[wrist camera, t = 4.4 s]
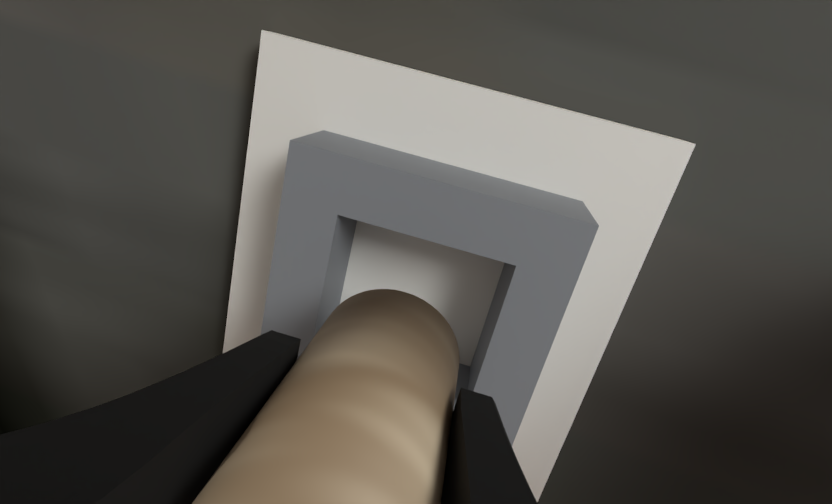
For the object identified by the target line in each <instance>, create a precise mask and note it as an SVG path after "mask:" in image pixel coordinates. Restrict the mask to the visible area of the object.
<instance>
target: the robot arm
mask: <svg viewBox="0 0 832 504" xmlns="http://www.w3.org/2000/svg"><path fill="white" fill-rule="evenodd" d="M300 341H301V339H299V338H296V337H293V336H289V335H286V334H283V333H279V332H276V331H273V330H271V331H269V332H266V333H264V334H262V335H260V336H258V337H256V338H254V339H252V340H250V341H248V342H246V343H243V344H241V345H239V346H237V347H235V348H233V349H231V350H229V351H227V352H225V353H223V354H221V355H219V356H217V357H215V358H212V359H210V360H208V361H206V362H204V363H202V364H200V365H197V366H195V367H193V368H191V369H189V370H187V371H184V372H182V373H180V374H177V375H175V376H172V377H170V378H168V379H165V380H163V381H160V382H158V383H156V384H153V385H151V386H148V387H146V388H143V389H141V390H139V391H136V392H134V393H131V394H129V395H126V396H124V397H121V398H118V399H116V400H113V401H110V402H107V403H104V404H102V405H99V406H96V407H93V408H90V409H87V410H84V411H81V412H77V413H74V414H71V415H68V416H65V417H62V418H59V419H56V420H52V421H49V422H46V423H42V424H39V425H35V426H31V427H28V428H24V429H20V430H16V431H12V432H9V433H5V434H1V435H0V504H192V503H193V501H194V500H195V499H196V497H197V496H198V495H199V493H200V492H201V490H202V489H203V488H204V486H205V485H206V484H207V482H208V481H209V480H210V478H211V477H212V475H213V474H214V473H215V471H216V470H217V469H218V467H219V466H220V465H221V463H222V462H223V460H224V459H225V458H226V456H227V455H228V454H229V452H230V451H231V450H232V448H233V447H234V445H235V444H236V443H237V441H238V440H239V439H240V437H241V436H242V435H243V433H244V432H245V430H246V429H247V428H248V426H249V425H250V424H251V422H252V421H253V420H254V418H255V417H256V415H257V414H258V413H259V411H260V410H261V409H262V407H263V406H264V405H265V403H266V402H267V400H268V399H269V398H270V396H271V395H272V394H273V392H274V391H275V389H276V388H277V387H278V385H279V384H280V383H281V381H282V380H283V379H284V377H285V376H286V374H287V373H288V372H289V370H290V369H291V368H292V366H293V365H294V364H295V362H296V361H297V357H298V352H299V347H300ZM441 504H538V503H537V501H536V499H535V497H534V495H533V493H532V491H531V489H530V486H529V484H528V482H527V480H526V478H525V476H524V473H523V471H522V469H521V467H520V465H519V462H518V460H517V458H516V455H515V453H514V451H513V448H512V446H511V443H510V441H509V438H508V436H507V433H506V431H505V428H504V425H503V423H502V420H501V417H500V415H499V412H498V409H497V406H496V403H495V402H494V400H493V398H492V397H491V396H487V395H484V394H481V393H477V392H474V391H471V390H467V389H464V388H461V389H460V392H459V395H458V398H457V401H456V404H455V407H454V410H453V414H452V421H451V429H450V436H449V444H448V452H447V460H446V468H445V475H444V483H443V491H442V498H441Z"/></svg>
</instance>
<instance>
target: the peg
mask: <svg viewBox="0 0 832 504" xmlns="http://www.w3.org/2000/svg"><path fill="white" fill-rule="evenodd" d="M459 359H460V357H459V348H458V343H457V340H456V337H455V334H454V332H453V330H452V328H451V327H450V325H449V323H448V322H447V321H446V319H445V318H444V317H443V316H442V315H441V314H440V312H439V311H438V310H436V309H435V308H434V307H433V306H432V305H430V304H429V303H427V302H426V301H424V300H423V299H421V298H419V297H417V296H415V295H412V294H409V293H406V292H403V291H398V290H392V289H374V290H368V291H364V292H361V293H358V294H356V295H353V296H351V297H349V298H348V299H346V300H345V301H343V302H342V303H341V304H340V305H338V306H337V307H336V308H335V310H334V311H333V312H332V313H331V314H330V316H329V317H328V319H327V320H326V321H325V323H324V324H323V325H322V327H321V328H320V329H319V331H318V332H317V334H316V335H315V336H314V338H313V339H312V340H311V342H310V343H309V344H308V346H307V347H306V349H305V350H304V351H303V353H302V354H301V355H300V357H299V358H298V359H297V361H296V362H295V364H294V365H293V366H292V368H291V369H290V370H289V372H288V373H287V374H286V376H285V377H284V379H283V380H282V381H281V383H280V384H279V385H278V387H277V388H276V389H275V391H274V392H273V394H272V395H271V396H270V398H269V399H268V400H267V402H266V403H265V405H264V406H263V407H262V409H261V410H260V411H259V413H258V414H257V415H256V417H255V418H254V420H253V421H252V422H251V424H250V425H249V426H248V428H247V429H246V430H245V432H244V433H243V435H242V436H241V437H240V439H239V440H238V441H237V443H236V444H235V445H234V447H233V448H232V450H231V451H230V452H229V454H228V455H227V456H226V458H225V459H224V460H223V462H222V463H221V465H220V466H219V467H218V469H217V470H216V471H215V473H214V474H213V475H212V477H211V478H210V480H209V481H208V482H207V484H206V485H205V486H204V488H203V489H202V490H201V492H200V493H199V495H198V496H197V497H196V499H195V500H194V501H193V503H192V504H441V498H442V491H443V483H444V475H445V468H446V460H447V452H448V444H449V436H450V429H451V421H452V414H453V408H454V400H455V393H456V385H457V378H458V370H459Z"/></svg>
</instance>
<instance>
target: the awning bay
mask: <svg viewBox="0 0 832 504" xmlns="http://www.w3.org/2000/svg"><path fill="white" fill-rule="evenodd" d="M694 147H695V144H693V143H690V142H687V141H684V140H681V139H677V138H673V137H670V136H666V135H662V134H658V133H654V132H651V131H647V130H643V129H639V128H635V127H632V126H628V125H624V124H620V123H616V122H613V121H609V120H605V119H601V118H597V117H594V116H590V115H586V114H582V113H578V112H575V111H571V110H567V109H563V108H559V107H556V106H552V105H548V104H544V103H540V102H537V101H533V100H529V99H525V98H521V97H518V96H514V95H510V94H506V93H503V92H499V91H495V90H491V89H487V88H484V87H480V86H476V85H472V84H468V83H465V82H461V81H457V80H453V79H449V78H446V77H442V76H438V75H434V74H430V73H427V72H423V71H419V70H415V69H411V68H408V67H404V66H400V65H396V64H392V63H389V62H385V61H381V60H377V59H373V58H370V57H366V56H362V55H358V54H354V53H351V52H347V51H343V50H339V49H335V48H332V47H328V46H324V45H320V44H316V43H313V42H309V41H305V40H301V39H297V38H294V37H290V36H286V35H282V34H279V33H274V32H269V31H264V30H262V32H261V41H260V49H259V57H258V65H257V74H256V82H255V90H254V98H253V107H252V115H251V123H250V132H249V140H248V148H247V156H246V165H245V173H244V181H243V189H242V198H241V206H240V214H239V222H238V231H237V239H236V247H235V256H234V264H233V272H232V280H231V289H230V297H229V305H228V313H227V322H226V330H225V338H224V346H223V353H225V352H227V351H229V350H231V349H233V348H235V347H237V346H239V345H241V344H243V343H246V342H248V341H250V340H252V339H254V338H256V337H258V336H260V335H262V334H264V333H266V332H269V331H271V330H273V331H276V332H279V333H283V334H286V335H289V336H293V337H296V338H299V339H301V341H300V347H299V352H298V357H297V359H298V358H299V357H300V355H301V354H302V353H303V351H304V350H305V349H306V347H307V346H308V344H309V343H310V342H311V340H312V339H313V338H314V336H315V335H316V334H317V332H318V331H319V329H320V328H321V327H322V325H323V324H324V323H325V321H326V320H327V319H328V317H329V316H330V314H331V313H332V312H333V311H334V310H335V308H336V307H337V306H338V305H340V304H341V303H342V302H343V301H345V300H346V299H348V298H349V297H351V296H353V295H356V294H358V293H361V292H364V291H368V290H374V289H392V290H398V291H403V292H406V293H409V294H412V295H415V296H417V297H419V298H421V299H423V300H424V301H426V302H427V303H429V304H430V305H432V306H433V307H434V308H435V309H436V310H438V311H439V312H440V314H441V315H442V316H443V317H444V318H445V319H446V321H447V322H448V323H449V325H450V327H451V328H452V330H453V332H454V334H455V337H456V340H457V343H458V348H459V357H460V359H459V370H458V378H457V385H456V393H455V400H454V407H455V404H456V401H457V398H458V395H459V392H460V389H461V388H464V389H467V390H471V391H474V392H477V393H481V394H484V395H487V396H491V397H492V398H493V400H494V402H495V403H496V406H497V409H498V412H499V415H500V417H501V420H502V423H503V425H504V428H505V431H506V433H507V436H508V438H509V441H510V443H511V446H512V448H513V451H514V453H515V455H516V458H517V460H518V462H519V465H520V467H521V469H522V471H523V473H524V476H525V478H526V480H527V482H528V484H529V486H530V489H531V491H532V493H533V495H534V497H535V499H536V501H537V502H538V500H539V498H540V495H541V493H542V491H543V489H544V486H545V484H546V482H547V480H548V477H549V475H550V473H551V470H552V468H553V466H554V464H555V461H556V459H557V457H558V455H559V452H560V450H561V448H562V446H563V443H564V441H565V439H566V437H567V434H568V432H569V430H570V427H571V425H572V423H573V421H574V418H575V416H576V414H577V412H578V409H579V407H580V405H581V403H582V400H583V398H584V396H585V393H586V391H587V389H588V387H589V384H590V382H591V380H592V378H593V375H594V373H595V371H596V369H597V366H598V364H599V362H600V360H601V357H602V355H603V353H604V350H605V348H606V346H607V344H608V341H609V339H610V337H611V335H612V332H613V330H614V328H615V326H616V323H617V321H618V319H619V317H620V314H621V312H622V310H623V307H624V305H625V303H626V301H627V298H628V296H629V294H630V292H631V289H632V287H633V285H634V283H635V280H636V278H637V276H638V273H639V271H640V269H641V267H642V264H643V262H644V260H645V258H646V255H647V253H648V251H649V249H650V246H651V244H652V242H653V240H654V237H655V235H656V233H657V230H658V228H659V226H660V224H661V221H662V219H663V217H664V215H665V212H666V210H667V208H668V206H669V203H670V201H671V199H672V197H673V194H674V192H675V190H676V187H677V185H678V183H679V181H680V178H681V176H682V174H683V172H684V169H685V167H686V165H687V163H688V160H689V158H690V156H691V153H692V151H693V149H694ZM453 410H454V408H453Z"/></svg>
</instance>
